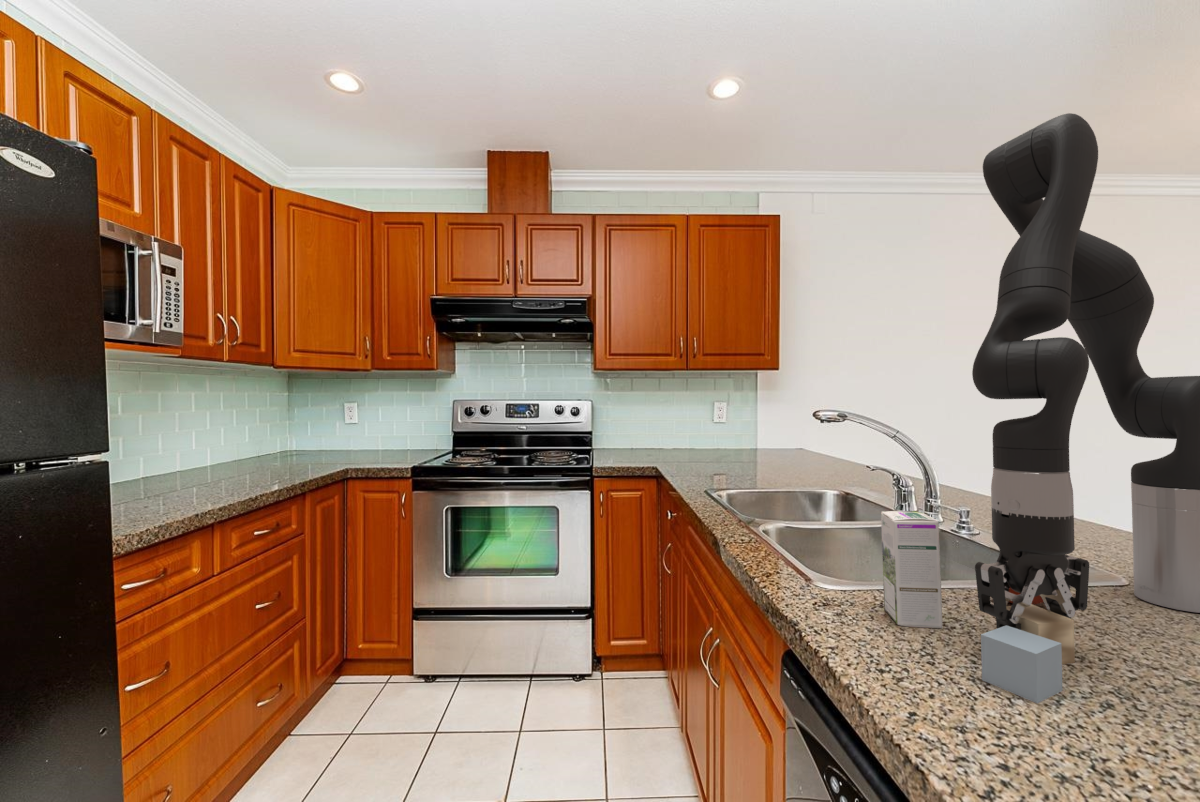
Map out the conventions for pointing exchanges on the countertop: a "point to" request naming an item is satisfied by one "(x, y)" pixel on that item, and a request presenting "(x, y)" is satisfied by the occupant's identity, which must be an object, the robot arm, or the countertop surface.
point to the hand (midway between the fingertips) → (1034, 648)
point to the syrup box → (911, 568)
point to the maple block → (1050, 628)
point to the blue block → (1022, 663)
